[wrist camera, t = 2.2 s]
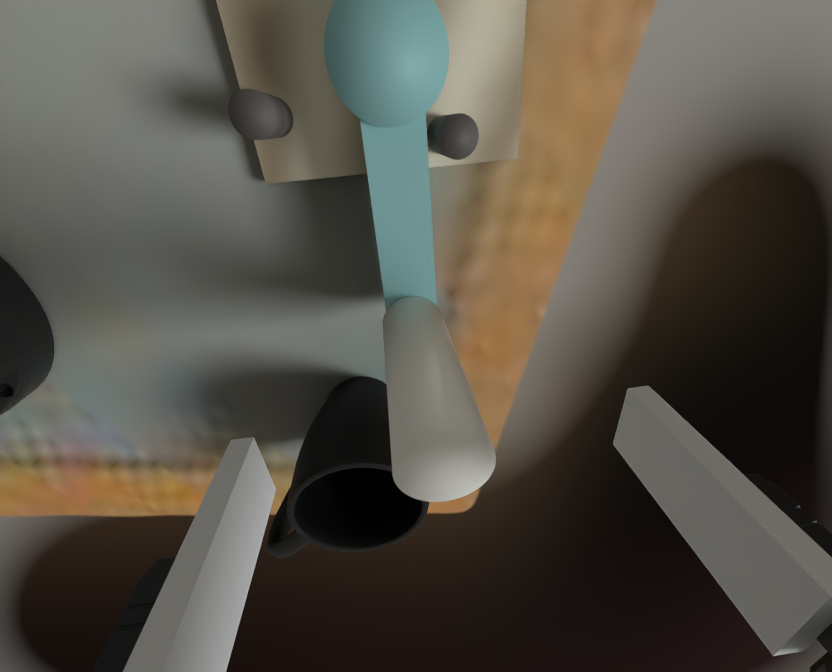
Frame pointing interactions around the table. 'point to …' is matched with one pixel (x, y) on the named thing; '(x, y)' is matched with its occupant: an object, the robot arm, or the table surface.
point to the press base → (329, 117)
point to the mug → (346, 479)
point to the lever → (408, 239)
